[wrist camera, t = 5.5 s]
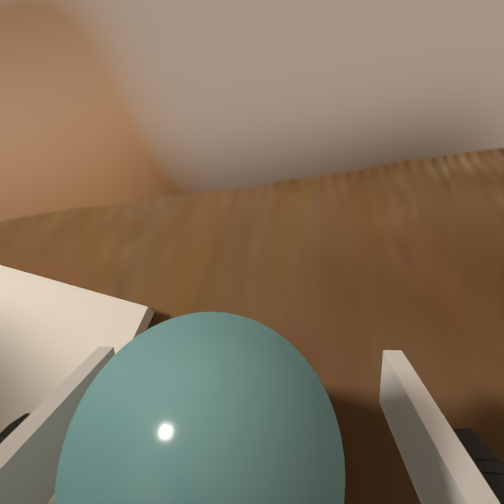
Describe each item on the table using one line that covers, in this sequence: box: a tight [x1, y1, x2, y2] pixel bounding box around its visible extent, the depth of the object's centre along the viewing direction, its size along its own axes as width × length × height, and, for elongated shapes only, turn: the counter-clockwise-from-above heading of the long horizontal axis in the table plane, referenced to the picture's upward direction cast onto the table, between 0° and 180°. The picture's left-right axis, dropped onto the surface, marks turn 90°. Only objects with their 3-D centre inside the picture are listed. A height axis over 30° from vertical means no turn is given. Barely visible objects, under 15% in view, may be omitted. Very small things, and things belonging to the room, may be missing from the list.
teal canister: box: [54, 312, 345, 504], centre depth 12 cm, size 6×6×13 cm
